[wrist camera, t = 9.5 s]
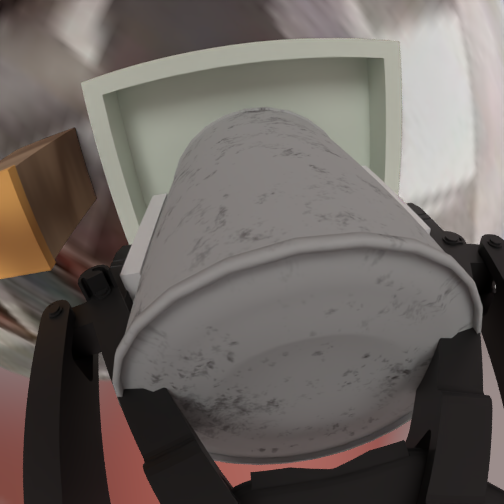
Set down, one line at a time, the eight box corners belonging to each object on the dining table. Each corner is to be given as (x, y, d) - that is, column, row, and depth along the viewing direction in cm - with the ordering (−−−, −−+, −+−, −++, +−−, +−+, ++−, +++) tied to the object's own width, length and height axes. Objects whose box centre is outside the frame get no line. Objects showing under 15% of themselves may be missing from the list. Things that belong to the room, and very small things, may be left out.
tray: (101, 77, 15) (80, 82, 13) (375, 41, 15) (399, 41, 12) (165, 292, 24) (160, 320, 22) (371, 261, 24) (386, 285, 22)
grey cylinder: (222, 74, 14) (213, 121, 4) (377, 162, 17) (526, 316, 7) (148, 230, 18) (92, 434, 8) (289, 284, 21) (333, 467, 11)
